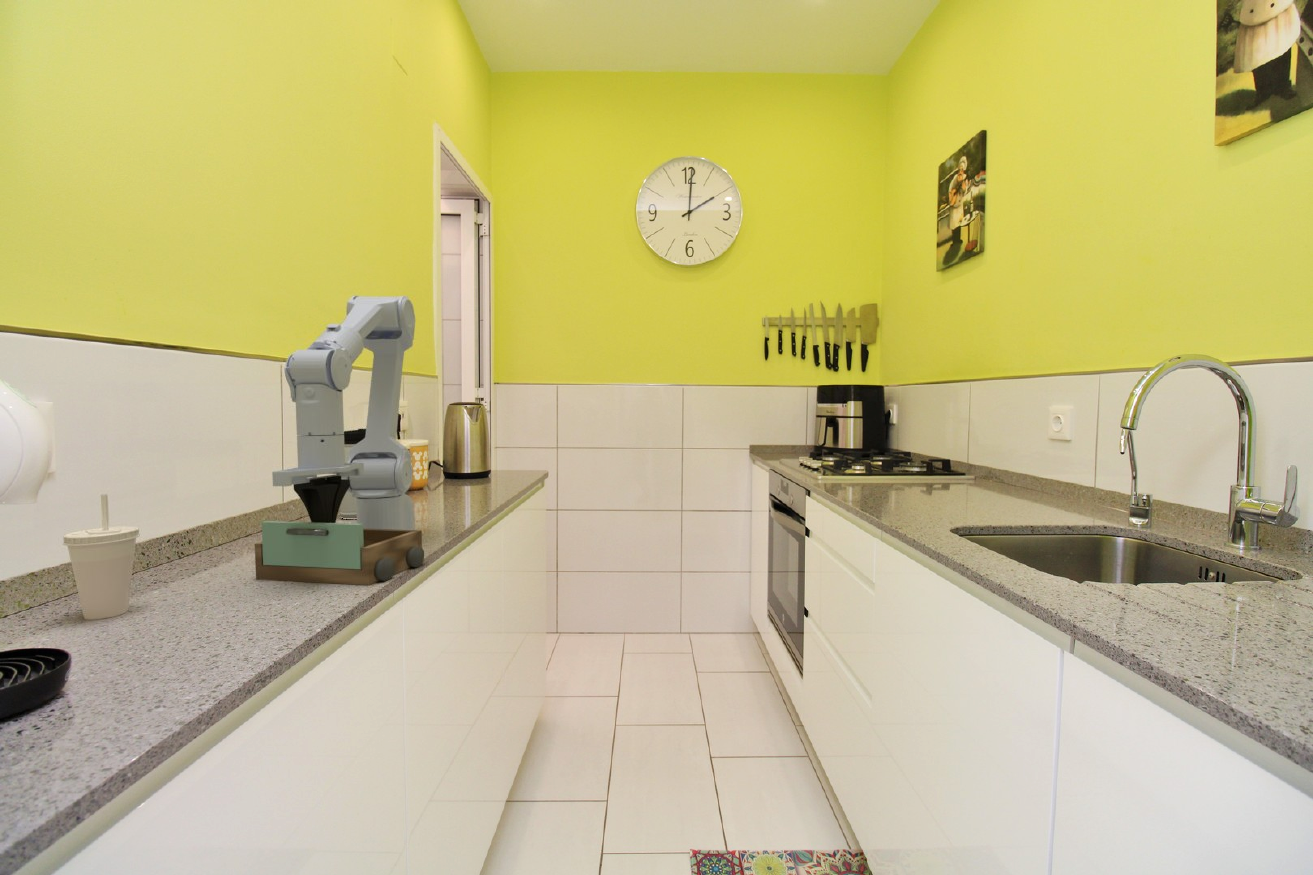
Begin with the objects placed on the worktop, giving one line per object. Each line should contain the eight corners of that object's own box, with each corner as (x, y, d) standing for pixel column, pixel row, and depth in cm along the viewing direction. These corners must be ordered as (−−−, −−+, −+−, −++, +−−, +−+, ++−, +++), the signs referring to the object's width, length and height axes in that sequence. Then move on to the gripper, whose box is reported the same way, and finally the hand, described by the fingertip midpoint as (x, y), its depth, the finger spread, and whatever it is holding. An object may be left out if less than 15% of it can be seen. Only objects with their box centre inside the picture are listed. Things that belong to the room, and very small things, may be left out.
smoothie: (96, 625, 63) (89, 498, 62) (51, 621, 64) (44, 497, 64) (157, 606, 69) (152, 490, 69) (115, 603, 70) (110, 490, 70)
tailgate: (268, 563, 81) (266, 521, 81) (364, 567, 78) (362, 523, 78) (258, 566, 79) (256, 523, 79) (356, 570, 76) (354, 526, 76)
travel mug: (378, 515, 132) (376, 428, 131) (357, 520, 126) (354, 429, 125) (355, 514, 134) (352, 428, 133) (333, 519, 127) (330, 429, 126)
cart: (316, 557, 92) (315, 526, 92) (428, 562, 88) (427, 530, 88) (250, 578, 81) (248, 543, 80) (375, 585, 77) (374, 548, 77)
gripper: (304, 437, 73) (307, 543, 73) (380, 433, 87) (383, 522, 87) (257, 437, 74) (260, 542, 74) (339, 433, 88) (342, 521, 89)
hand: (324, 531), depth 81 cm, fingers closed
